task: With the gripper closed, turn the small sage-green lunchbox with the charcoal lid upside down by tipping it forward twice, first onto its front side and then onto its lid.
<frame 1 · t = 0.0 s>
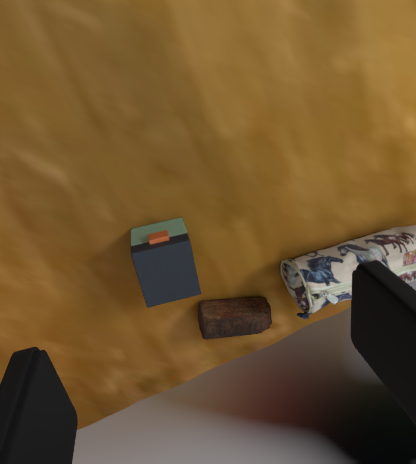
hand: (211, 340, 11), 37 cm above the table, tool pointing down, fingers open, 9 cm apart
lunchbox: (163, 248, 51), on the table
brick: (230, 306, 58), on the table
pencil case: (343, 253, 57), on the table
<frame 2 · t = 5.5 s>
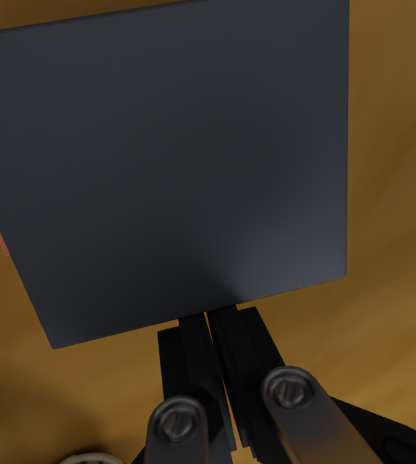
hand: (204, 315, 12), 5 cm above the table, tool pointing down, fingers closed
lunchbox: (159, 135, 14), on the table, touching gripper
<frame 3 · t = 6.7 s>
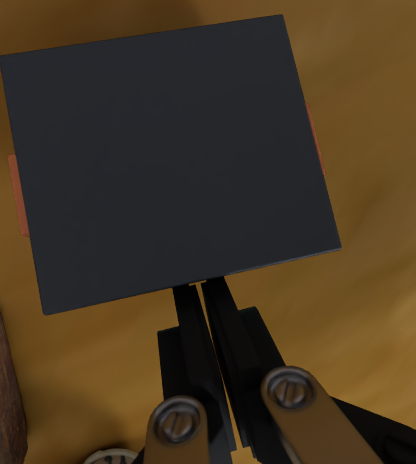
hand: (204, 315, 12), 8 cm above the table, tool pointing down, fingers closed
lunchbox: (173, 202, 17), point 2 cm above the table, tilted 32°, touching gripper
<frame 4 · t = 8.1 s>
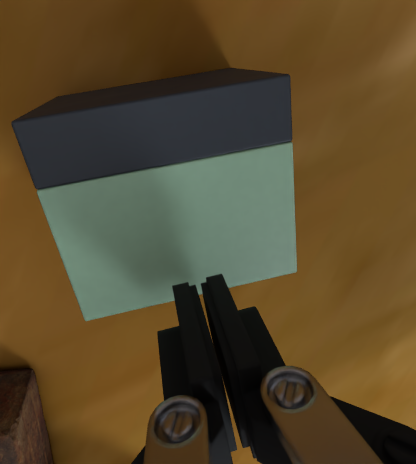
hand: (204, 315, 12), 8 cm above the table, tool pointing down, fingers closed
lunchbox: (182, 251, 17), point 4 cm above the table, tilted 90°
brick: (17, 425, 24), on the table
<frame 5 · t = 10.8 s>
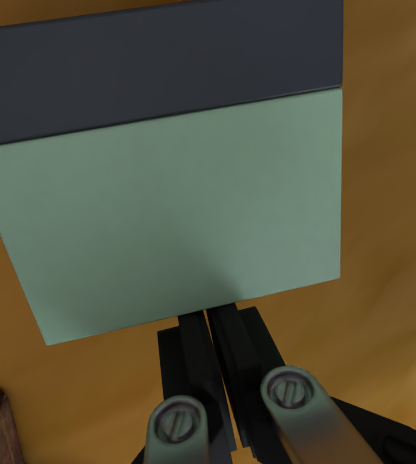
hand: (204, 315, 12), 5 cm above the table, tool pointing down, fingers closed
lunchbox: (183, 253, 13), point 4 cm above the table, tilted 92°, touching gripper
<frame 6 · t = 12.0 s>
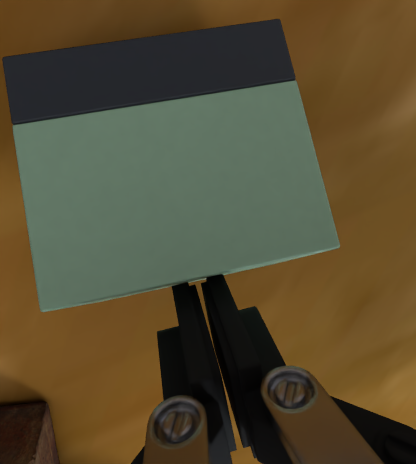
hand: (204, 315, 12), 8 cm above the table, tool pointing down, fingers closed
lunchbox: (192, 281, 13), point 7 cm above the table, tilted 124°, touching gripper
brick: (29, 453, 25), on the table
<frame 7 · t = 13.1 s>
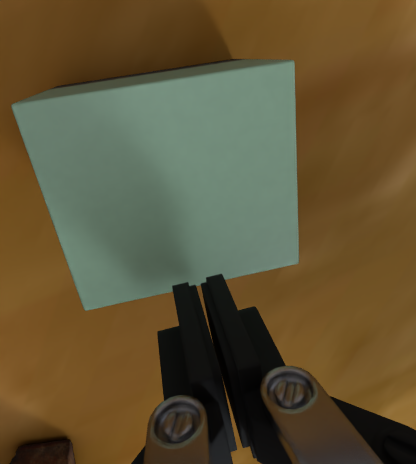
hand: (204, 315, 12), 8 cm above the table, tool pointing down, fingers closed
lunchbox: (179, 197, 12), point 7 cm above the table, tilted 180°
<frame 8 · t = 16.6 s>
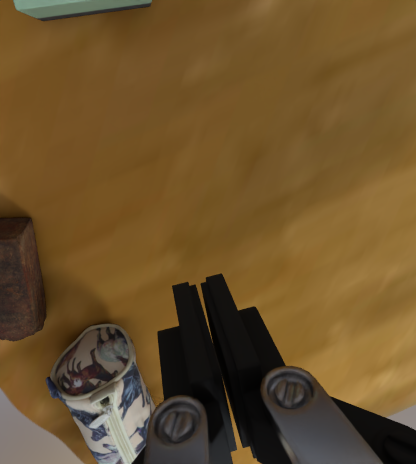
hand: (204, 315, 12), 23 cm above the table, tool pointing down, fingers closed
brick: (20, 266, 35), on the table
pencil case: (123, 389, 44), on the table
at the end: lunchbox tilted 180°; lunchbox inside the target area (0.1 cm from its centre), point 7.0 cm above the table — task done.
